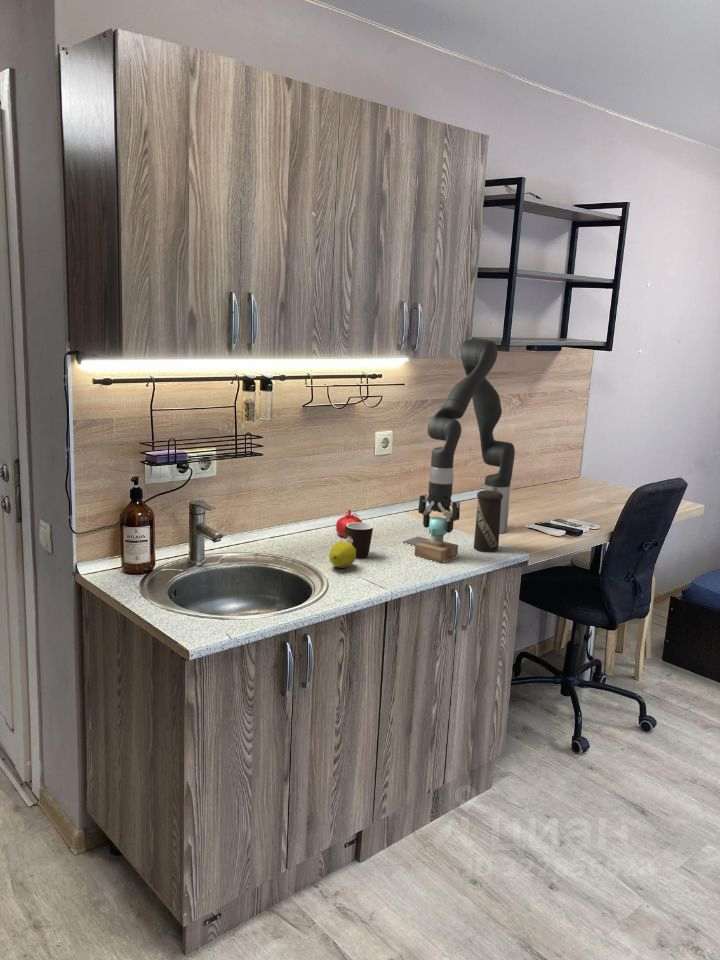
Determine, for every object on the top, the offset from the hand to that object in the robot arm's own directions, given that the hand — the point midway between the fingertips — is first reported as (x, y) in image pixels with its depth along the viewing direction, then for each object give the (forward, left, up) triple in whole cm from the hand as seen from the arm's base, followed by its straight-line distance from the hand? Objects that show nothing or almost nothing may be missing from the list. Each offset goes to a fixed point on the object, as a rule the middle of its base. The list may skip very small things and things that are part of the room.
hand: (437, 529), depth 254 cm
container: (-20, +7, -9) cm, 23 cm away
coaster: (-9, -12, -9) cm, 18 cm away
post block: (0, 0, -9) cm, 9 cm away
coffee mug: (+17, -19, -9) cm, 27 cm away
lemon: (+31, -14, -9) cm, 35 cm away
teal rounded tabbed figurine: (0, 0, -1) cm, 1 cm away
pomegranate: (+2, -35, -9) cm, 36 cm away
